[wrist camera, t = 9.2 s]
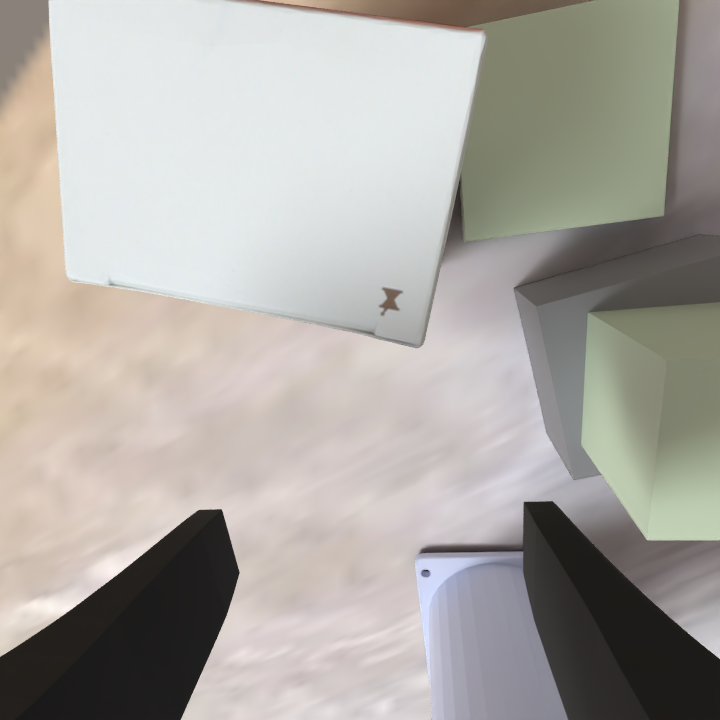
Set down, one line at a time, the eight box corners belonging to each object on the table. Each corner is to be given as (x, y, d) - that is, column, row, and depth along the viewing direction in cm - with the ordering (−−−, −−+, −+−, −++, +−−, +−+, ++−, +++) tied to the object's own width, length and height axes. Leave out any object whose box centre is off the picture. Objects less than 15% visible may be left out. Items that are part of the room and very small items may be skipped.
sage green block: (732, 439, 15) (869, 540, 11) (580, 444, 16) (647, 540, 11) (756, 299, 14) (929, 344, 9) (587, 312, 15) (667, 360, 10)
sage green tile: (649, 215, 17) (663, 216, 16) (463, 240, 18) (465, 241, 17) (663, -3, 15) (680, -18, 14) (450, 40, 16) (452, 29, 15)
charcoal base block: (712, 394, 19) (785, 439, 15) (545, 430, 20) (573, 480, 17) (695, 234, 17) (773, 240, 13) (512, 287, 18) (536, 306, 15)
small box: (455, 134, 17) (508, 22, 7) (424, 278, 19) (430, 355, 9) (253, 101, 17) (31, -46, 7) (243, 245, 19) (55, 282, 9)
